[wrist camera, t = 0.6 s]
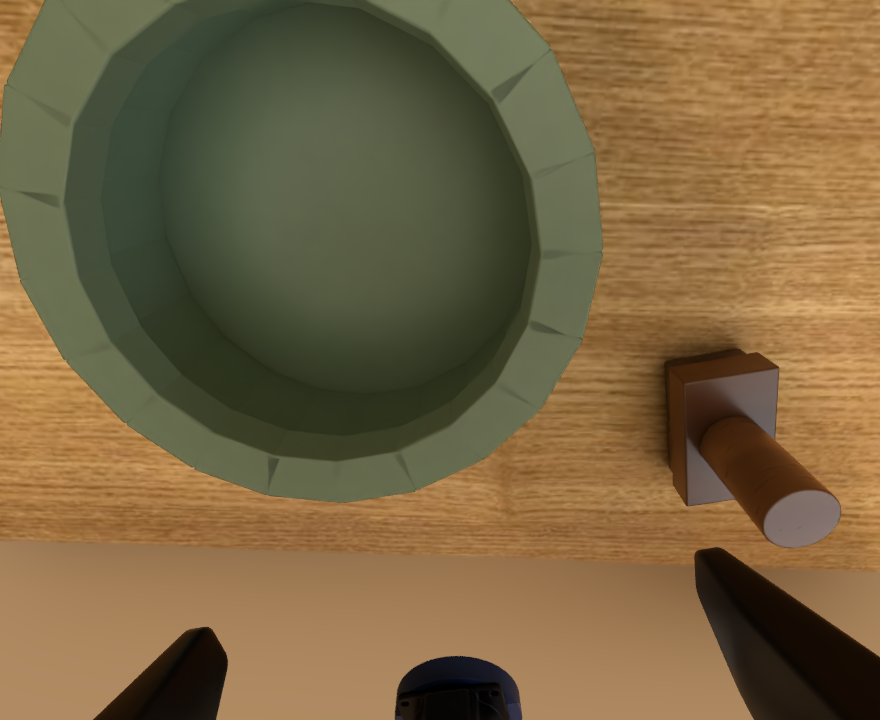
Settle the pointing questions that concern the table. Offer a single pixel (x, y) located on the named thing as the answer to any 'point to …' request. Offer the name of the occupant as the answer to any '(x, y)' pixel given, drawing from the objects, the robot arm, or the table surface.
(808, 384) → the table surface
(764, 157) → the table surface
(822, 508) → the stamp
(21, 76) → the bowl
